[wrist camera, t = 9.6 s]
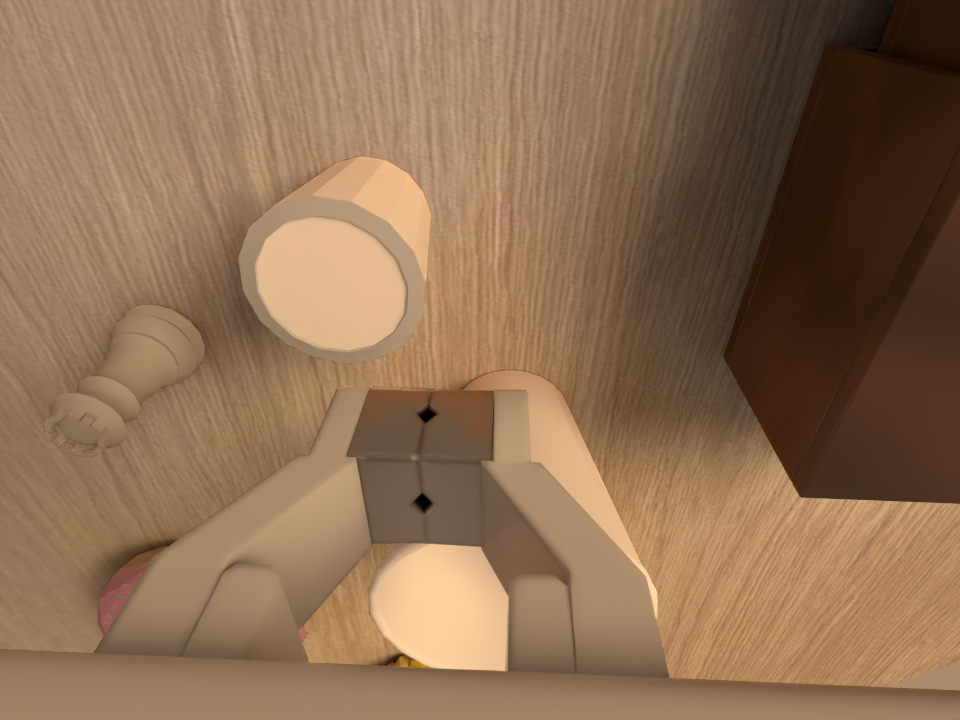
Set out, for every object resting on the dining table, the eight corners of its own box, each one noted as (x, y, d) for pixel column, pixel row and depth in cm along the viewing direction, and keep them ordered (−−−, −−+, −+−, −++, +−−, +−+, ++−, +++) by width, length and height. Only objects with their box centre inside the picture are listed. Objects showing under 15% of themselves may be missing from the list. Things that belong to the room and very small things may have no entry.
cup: (370, 417, 33) (310, 615, 23) (507, 290, 28) (505, 476, 18) (512, 508, 37) (514, 708, 27) (654, 414, 32) (721, 620, 22)
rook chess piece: (153, 372, 32) (62, 477, 25) (108, 307, 29) (-6, 404, 23) (223, 361, 31) (148, 466, 25) (183, 293, 29) (87, 389, 22)
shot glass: (450, 281, 28) (435, 363, 22) (316, 285, 28) (267, 367, 22) (436, 137, 24) (412, 192, 18) (280, 145, 24) (209, 201, 18)
